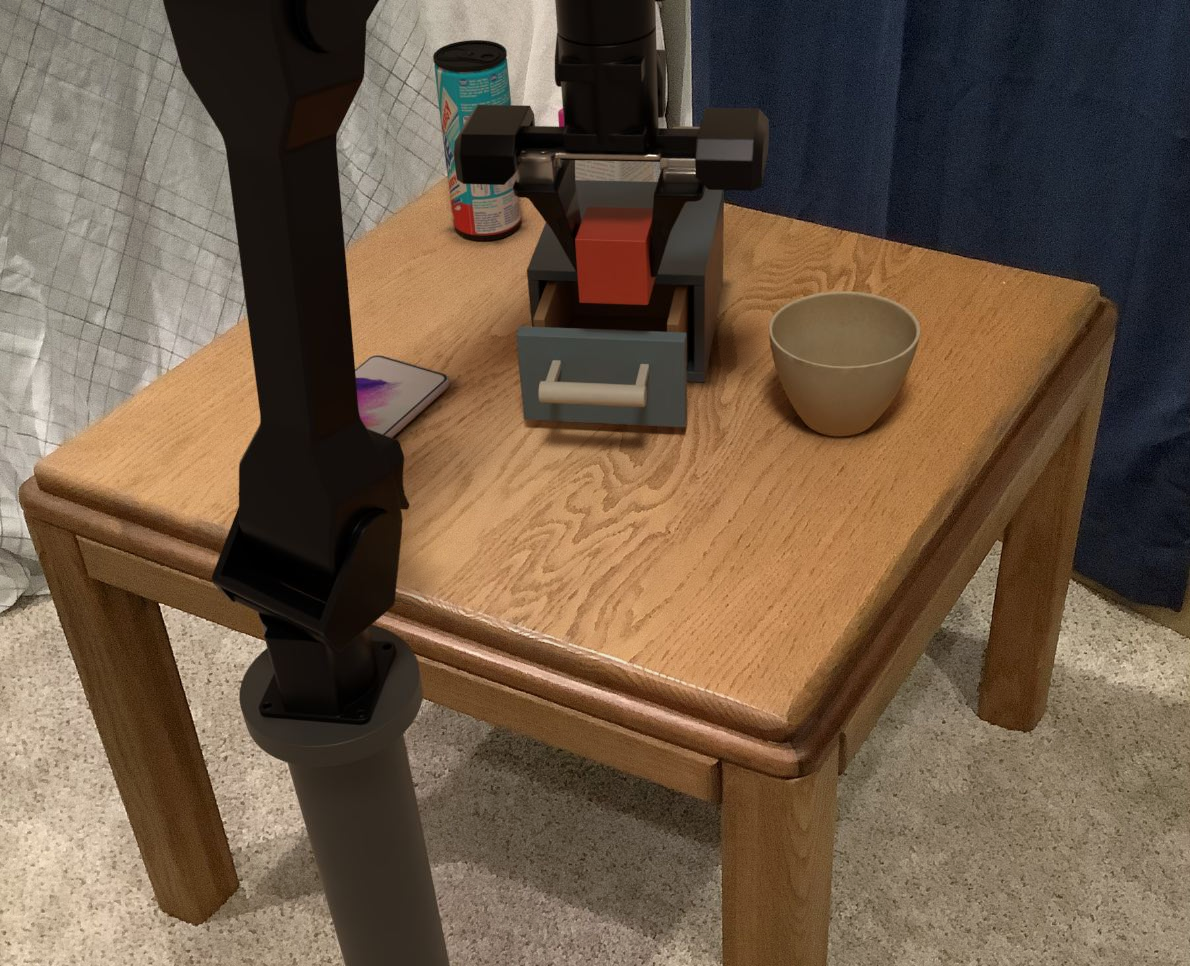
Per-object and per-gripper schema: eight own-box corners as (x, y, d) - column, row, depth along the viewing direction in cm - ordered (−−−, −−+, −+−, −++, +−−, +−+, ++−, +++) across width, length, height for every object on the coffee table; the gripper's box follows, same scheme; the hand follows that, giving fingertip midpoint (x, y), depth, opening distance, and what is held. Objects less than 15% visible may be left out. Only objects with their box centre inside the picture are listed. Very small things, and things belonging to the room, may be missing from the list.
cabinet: (704, 382, 104) (705, 275, 98) (535, 375, 106) (526, 269, 100) (722, 284, 115) (724, 182, 109) (569, 279, 117) (562, 179, 111)
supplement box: (657, 229, 122) (654, 96, 115) (621, 258, 119) (616, 123, 111) (600, 215, 125) (594, 84, 117) (563, 243, 121) (554, 110, 114)
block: (648, 305, 91) (645, 241, 88) (579, 303, 92) (574, 239, 89) (657, 271, 95) (655, 207, 92) (590, 269, 95) (586, 206, 92)
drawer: (678, 463, 95) (677, 375, 91) (511, 454, 97) (502, 368, 92) (705, 327, 108) (705, 245, 104) (557, 322, 110) (551, 240, 105)
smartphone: (453, 375, 105) (331, 484, 95) (454, 385, 105) (333, 494, 96) (373, 351, 108) (246, 455, 98) (375, 361, 108) (249, 466, 99)
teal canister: (481, 206, 127) (463, 35, 117) (535, 221, 125) (521, 46, 115) (440, 233, 124) (417, 59, 114) (494, 249, 121) (476, 72, 111)
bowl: (861, 365, 105) (869, 277, 100) (937, 434, 98) (950, 342, 93) (740, 400, 102) (742, 311, 97) (810, 473, 95) (816, 381, 90)
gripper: (779, -21, 86) (771, 219, 97) (480, -21, 89) (504, 212, 100) (764, 49, 78) (758, 302, 89) (437, 46, 81) (468, 291, 92)
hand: (618, 272), depth 93 cm, fingers closed on block, 4 cm apart
